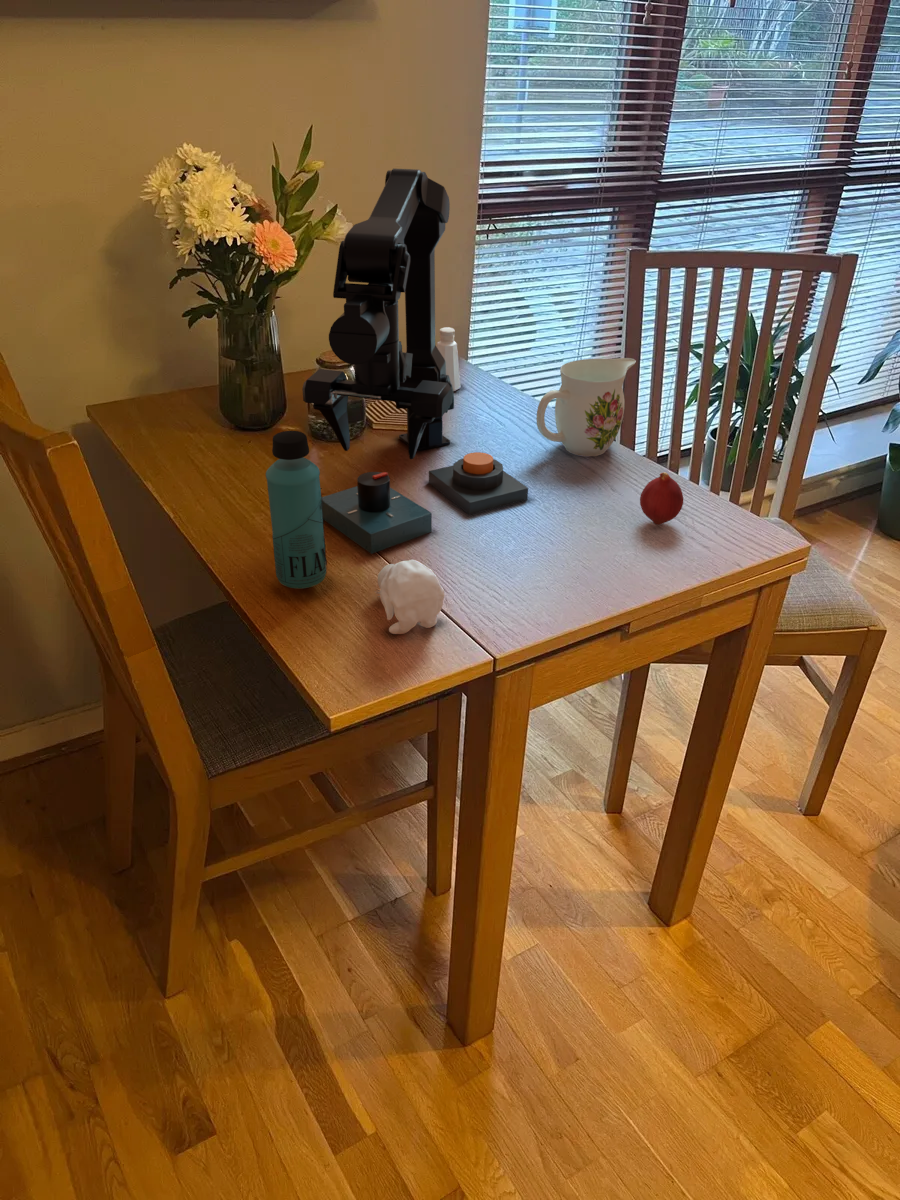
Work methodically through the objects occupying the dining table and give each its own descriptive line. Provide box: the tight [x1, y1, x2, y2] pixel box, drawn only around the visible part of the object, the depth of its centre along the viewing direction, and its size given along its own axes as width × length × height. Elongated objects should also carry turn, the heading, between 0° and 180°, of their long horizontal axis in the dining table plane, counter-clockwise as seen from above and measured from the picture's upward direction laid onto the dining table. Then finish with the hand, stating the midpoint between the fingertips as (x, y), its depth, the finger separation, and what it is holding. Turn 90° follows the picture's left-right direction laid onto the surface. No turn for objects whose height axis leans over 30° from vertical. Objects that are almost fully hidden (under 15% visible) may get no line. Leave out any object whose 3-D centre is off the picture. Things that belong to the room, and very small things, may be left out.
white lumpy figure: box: [374, 559, 445, 635], centre depth 107 cm, size 6×8×12 cm
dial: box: [356, 471, 391, 512], centre depth 126 cm, size 4×4×4 cm
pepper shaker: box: [436, 326, 462, 392], centre depth 171 cm, size 5×5×11 cm
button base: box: [428, 458, 529, 516], centre depth 136 cm, size 12×10×4 cm
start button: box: [462, 451, 494, 474], centre depth 135 cm, size 4×4×2 cm
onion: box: [639, 471, 684, 526], centre depth 127 cm, size 6×6×8 cm
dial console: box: [321, 485, 433, 555], centre depth 128 cm, size 13×10×3 cm
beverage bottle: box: [265, 430, 329, 589], centre depth 109 cm, size 6×7×20 cm
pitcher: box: [536, 357, 637, 457], centre depth 147 cm, size 11×18×14 cm, turn 119°
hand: (379, 453), depth 123 cm, fingers open, 9 cm apart
